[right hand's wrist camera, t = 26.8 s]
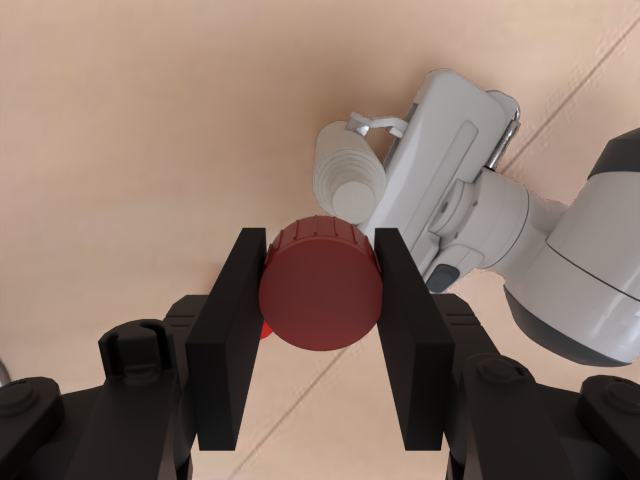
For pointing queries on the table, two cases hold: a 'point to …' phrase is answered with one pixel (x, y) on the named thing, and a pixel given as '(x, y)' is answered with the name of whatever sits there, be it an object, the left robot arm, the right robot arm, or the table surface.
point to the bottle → (346, 174)
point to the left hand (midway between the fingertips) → (333, 153)
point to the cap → (321, 284)
